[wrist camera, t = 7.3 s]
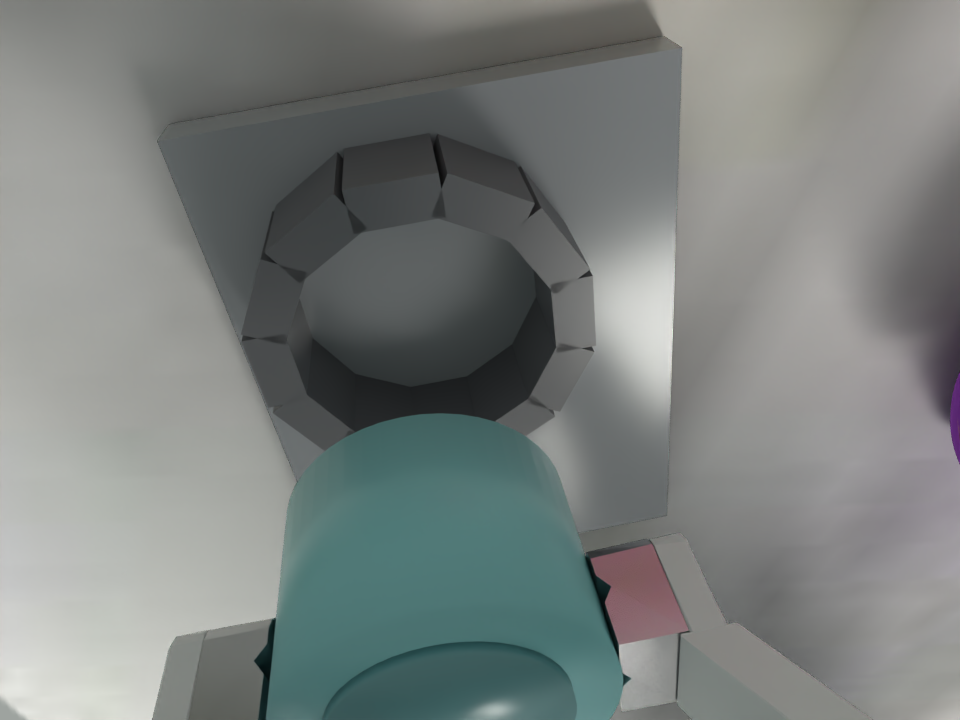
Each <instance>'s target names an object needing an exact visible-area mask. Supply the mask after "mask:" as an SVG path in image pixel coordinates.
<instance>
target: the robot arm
mask: <svg viewBox="0 0 960 720" xmlns="http://www.w3.org/2000/svg"><path fill="white" fill-rule="evenodd" d="M586 560H587V563H588V566H589V569H590V572H591V575H592V579H593V582H594V585H595V588H596V591H597V594H598V596H599V599H600V602H601V605H602V609H603V612H604V615H605V618H606V622H607V625H608V628H609V631H610V634H611V637H612V640H613V643H614V646H615V649H616V652H617V655H618V658H619V661H620V664H621V667H622V673H623V691H622V695H621V698H620V701H619V705H620V708H621V711H622V712H625V711H630V710H635V709H641V708H646V707H652V706H657V705H662V704H668V703H673V702H677V705H678V706H679V707H680V708H681V709H682V710H683V711H684V712H685V713H686V714H687V715H688V716H689V717H690V718H691V719H692V720H873V719H871V718H870V717H869V716H867V715H866V714H864V713H863V712H862V711H860V710H859V709H857V708H856V707H855V706H853V705H852V704H850V703H849V702H848V701H846V700H845V699H843V698H842V697H841V696H839V695H838V694H836V693H835V692H834V691H832V690H831V689H829V688H828V687H827V686H825V685H824V684H822V683H821V682H820V681H818V680H817V679H815V678H814V677H813V676H811V675H810V674H808V673H807V672H806V671H804V670H803V669H801V668H800V667H799V666H797V665H796V664H794V663H793V662H792V661H790V660H789V659H787V658H786V657H785V656H783V655H782V654H780V653H779V652H778V651H776V650H775V649H773V648H772V647H771V646H769V645H768V644H766V643H765V642H764V641H762V640H761V639H759V638H758V637H757V636H755V635H754V634H752V633H751V632H750V631H748V630H747V629H745V628H744V627H743V626H741V625H740V624H738V623H731V624H727V622H726V620H725V618H724V616H723V614H722V612H721V610H720V608H719V606H718V604H717V602H716V600H715V598H714V595H713V593H712V591H711V589H710V587H709V585H708V583H707V581H706V579H705V577H704V575H703V573H702V571H701V568H700V566H699V564H698V562H697V560H696V558H695V556H694V554H693V552H692V550H691V548H690V546H689V544H688V541H687V539H686V538H685V537H684V536H683V535H682V534H681V533H675V534H671V535H666V536H662V537H657V538H653V539H649V540H647V539H643V540H639V541H634V542H630V543H625V544H621V545H616V546H612V547H607V548H603V549H599V550H594V551H590V552H587V553H586ZM275 624H276V618H271V619H266V620H261V621H256V622H250V623H245V624H240V625H234V626H229V627H224V628H218V629H213V630H207V631H202V632H197V633H192V634H187V635H182V636H177V637H176V638H175V639H174V641H173V643H172V644H171V646H170V648H169V651H168V655H167V659H166V663H165V668H164V672H163V676H162V680H161V684H160V689H159V693H158V697H157V701H156V706H155V710H154V714H153V718H152V720H266V713H267V703H268V693H269V683H270V673H271V664H272V654H273V644H274V634H275Z"/></svg>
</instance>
